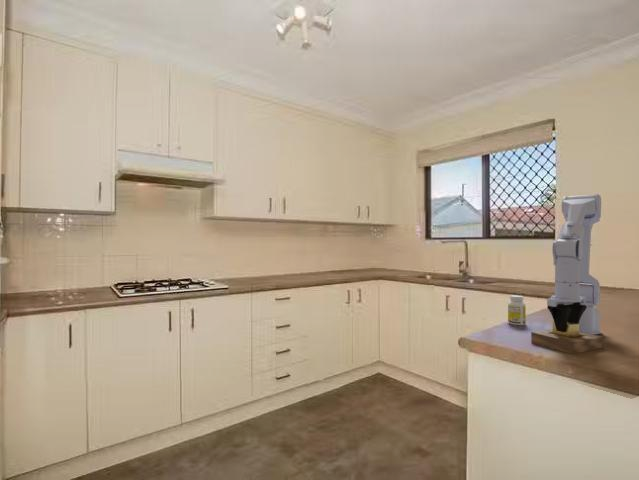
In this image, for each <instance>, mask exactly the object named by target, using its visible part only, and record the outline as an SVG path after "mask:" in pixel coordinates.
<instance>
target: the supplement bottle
mask: <svg viewBox="0 0 639 480" xmlns="http://www.w3.org/2000/svg"><path fill="white" fill-rule="evenodd" d="M509 299H510V301H509V302H508V303H507V323H508V324H509V323H510V325H514V326H525V325H526V317H527V315H526V303H525V302H523V301H524V296H523V295H516V294H514V295H513V294H511V295H510V296H509Z"/></svg>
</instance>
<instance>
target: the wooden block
mask: <svg viewBox="0 0 639 480" xmlns="http://www.w3.org/2000/svg"><path fill="white" fill-rule="evenodd" d="M552 329H553V334H555V335H559V336H563V337H567V338H578V337H579V324H578V323H573V322H568V321H567V329H566V332H560V331H557V330H556V327H555V323H554V320H553V321H552Z"/></svg>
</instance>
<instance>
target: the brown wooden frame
mask: <svg viewBox="0 0 639 480" xmlns="http://www.w3.org/2000/svg"><path fill="white" fill-rule="evenodd" d="M530 334H531V336H530V337H531V338H530V341H531V342H530V343H531V344H535V345H538V346H543V347H546V348H549V349H553V350H557V351H561V352H563V353H567V354H570V355H574V354H579V353H584V352H588V351H593V350H597V349H602V348H604V336H601V335H599V334H595V335H593V334H589V333H584V332H579V337H578V338H567V337H563V336H559V335H555V334H553V328H550V329H545V330H537V331H531V333H530Z"/></svg>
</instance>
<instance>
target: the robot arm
mask: <svg viewBox="0 0 639 480" xmlns="http://www.w3.org/2000/svg"><path fill="white" fill-rule="evenodd" d="M561 213H562V215H563V218H564V220H565V223H564V224H562V225H561V227H560V231H559V233H558V238H557V239H556V240H554V241H553V243H552V247H551V250H552V257H553V265H554V295H550V298H549V297H548V298H547V299H546V306H547V310H548V311H549V313H550V315H551V316H552V319H553V321H554V323H555V327H556V330H557V331H560V332H566V329H567V321H568V322H573V323H578V324H579V332H584V333H589V334H593V335H599V334H603V333H604V331H601V330H600V327H601V326H600V325H601V323H600V317H601V315H600V310H599V309H598V307H596V306H597V305H599V304H600V300H601V287H600V281H599V280H598V279H597V278H596V277H594V276H592V275H591V274H590V265H591V264H590V263H591V262H590V260H591V241H592V240H591V239H592V238H591V237H592V236H591V235H592V229H593V226H594V224H595V223H599V222H600V220H601V216H602V215H601V214H602V197H601V195H600V194H599V193H595V194H584V195H583V194H582V195H571V196H570V195H568V196H567V195H565V196H563V197H562V198H561Z"/></svg>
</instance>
